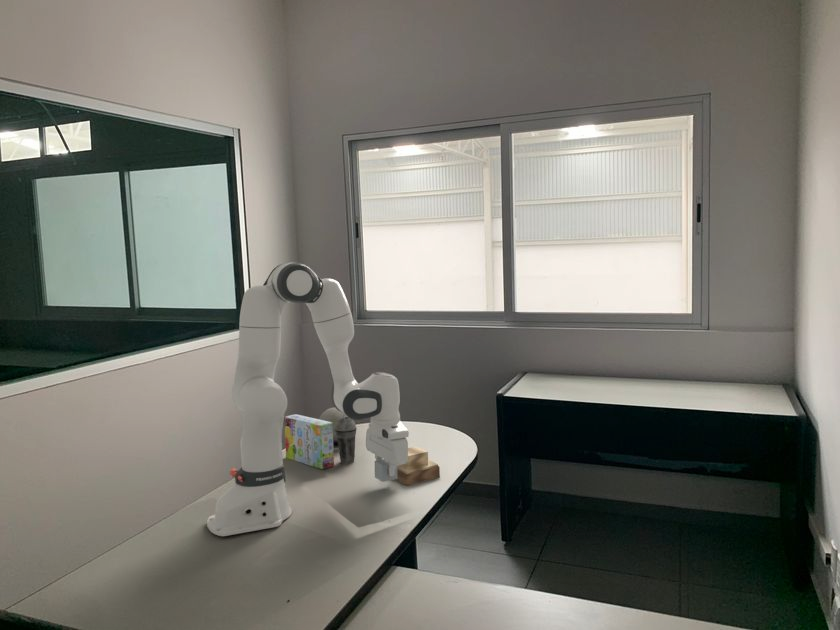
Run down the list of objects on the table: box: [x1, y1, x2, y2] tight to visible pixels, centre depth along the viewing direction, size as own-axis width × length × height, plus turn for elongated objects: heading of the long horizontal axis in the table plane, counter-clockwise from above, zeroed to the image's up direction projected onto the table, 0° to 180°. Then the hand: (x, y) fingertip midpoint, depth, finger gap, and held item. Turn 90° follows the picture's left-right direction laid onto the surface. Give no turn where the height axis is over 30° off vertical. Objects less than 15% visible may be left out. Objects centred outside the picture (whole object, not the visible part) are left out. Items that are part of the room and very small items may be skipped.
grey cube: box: [374, 459, 397, 483], centre depth 186 cm, size 5×5×5 cm
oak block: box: [403, 446, 429, 469], centre depth 196 cm, size 7×7×4 cm
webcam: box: [318, 406, 354, 453], centre depth 229 cm, size 13×13×15 cm
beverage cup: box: [335, 414, 358, 466], centre depth 211 cm, size 7×7×20 cm
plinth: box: [395, 459, 441, 486], centre depth 196 cm, size 12×12×4 cm
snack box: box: [283, 413, 335, 470], centre depth 214 cm, size 21×6×15 cm, turn 47°
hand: (385, 472), depth 186 cm, fingers closed on grey cube, 5 cm apart
